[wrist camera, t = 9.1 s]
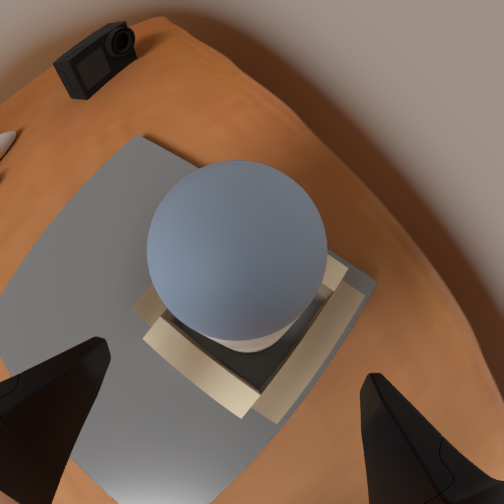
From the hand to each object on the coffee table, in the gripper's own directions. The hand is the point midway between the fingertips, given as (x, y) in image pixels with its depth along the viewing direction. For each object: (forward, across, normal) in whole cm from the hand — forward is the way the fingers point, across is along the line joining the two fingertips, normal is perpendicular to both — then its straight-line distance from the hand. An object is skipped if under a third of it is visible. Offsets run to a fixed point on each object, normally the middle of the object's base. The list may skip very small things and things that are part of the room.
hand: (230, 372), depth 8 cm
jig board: (+7, +8, +5) cm, 12 cm away
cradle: (+8, 0, +4) cm, 9 cm away
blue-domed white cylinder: (+7, 0, +3) cm, 8 cm away
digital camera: (+28, +23, -16) cm, 40 cm away
